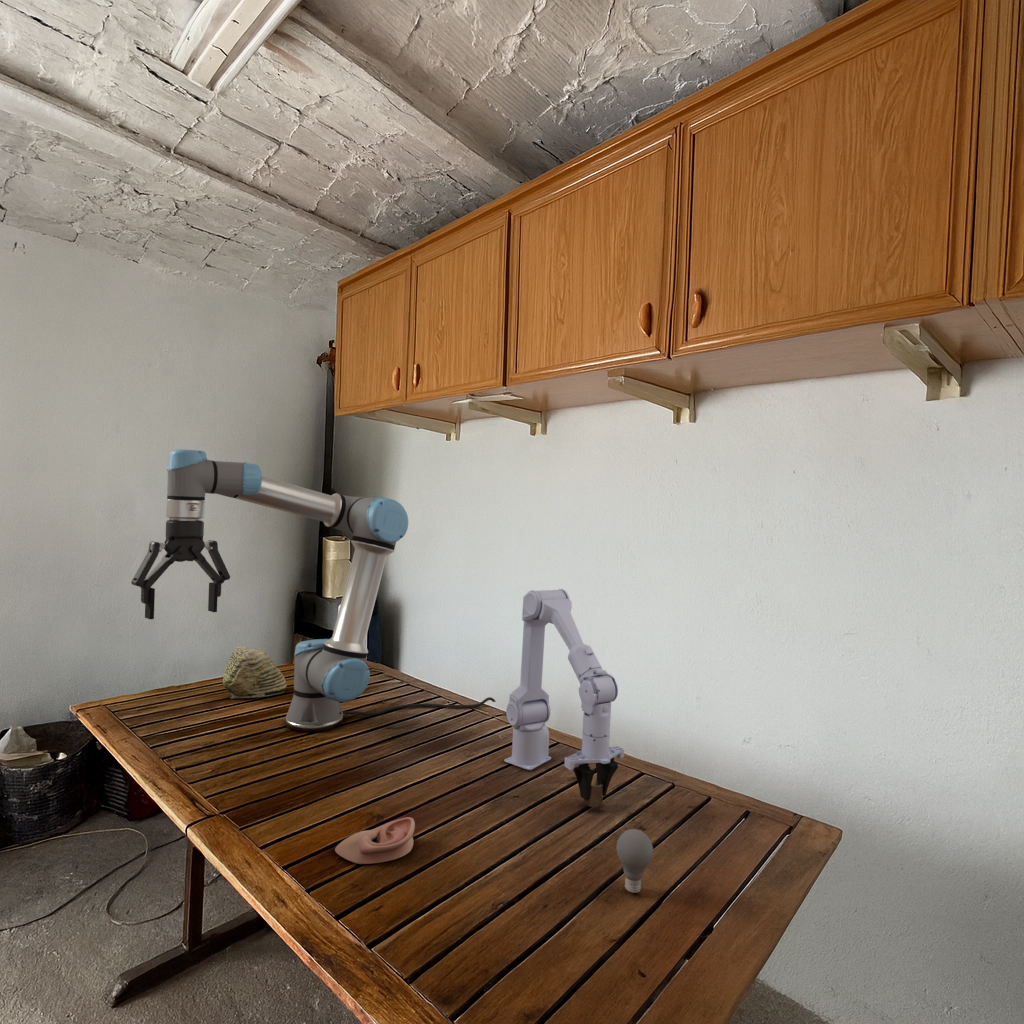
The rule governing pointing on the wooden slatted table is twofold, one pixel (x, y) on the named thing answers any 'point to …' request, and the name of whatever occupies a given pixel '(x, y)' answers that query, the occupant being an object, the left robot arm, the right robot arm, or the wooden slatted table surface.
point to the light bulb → (634, 857)
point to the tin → (595, 794)
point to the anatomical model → (379, 843)
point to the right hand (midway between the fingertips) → (593, 796)
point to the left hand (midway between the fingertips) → (182, 614)
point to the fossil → (252, 674)
